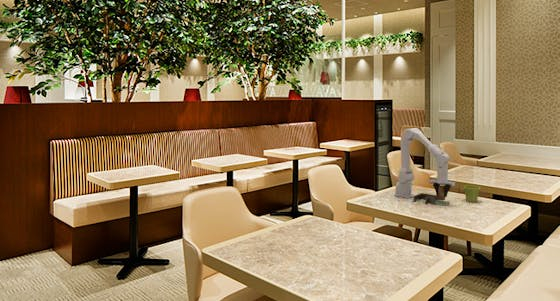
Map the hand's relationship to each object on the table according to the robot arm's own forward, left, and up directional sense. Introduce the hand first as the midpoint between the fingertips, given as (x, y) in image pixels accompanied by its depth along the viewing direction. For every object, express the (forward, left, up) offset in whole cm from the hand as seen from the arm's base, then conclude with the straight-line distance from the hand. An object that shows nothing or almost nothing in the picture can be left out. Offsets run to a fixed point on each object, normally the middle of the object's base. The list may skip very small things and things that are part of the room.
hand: (441, 196), depth 255 cm
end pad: (0, 0, -4) cm, 4 cm away
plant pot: (+12, +17, -5) cm, 21 cm away
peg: (0, 0, -2) cm, 2 cm away
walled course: (-8, -1, -4) cm, 10 cm away
